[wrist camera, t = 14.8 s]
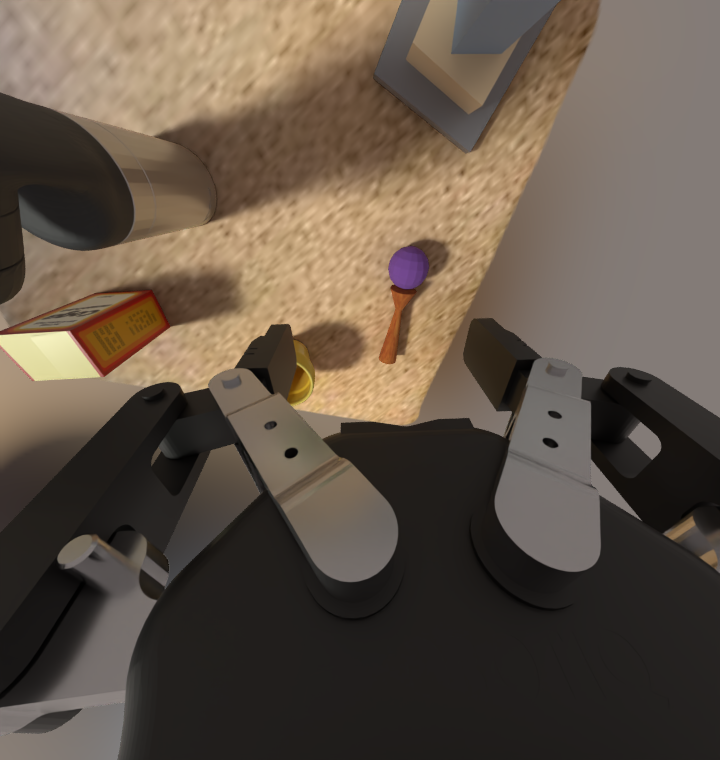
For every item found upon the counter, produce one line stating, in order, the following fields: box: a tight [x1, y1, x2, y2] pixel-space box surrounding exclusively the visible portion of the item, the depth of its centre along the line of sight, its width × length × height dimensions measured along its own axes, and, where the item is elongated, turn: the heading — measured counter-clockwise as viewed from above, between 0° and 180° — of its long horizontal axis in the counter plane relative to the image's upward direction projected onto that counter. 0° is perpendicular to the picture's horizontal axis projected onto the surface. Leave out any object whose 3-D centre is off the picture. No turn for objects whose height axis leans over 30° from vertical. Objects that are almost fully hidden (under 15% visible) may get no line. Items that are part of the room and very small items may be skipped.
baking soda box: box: [0, 290, 170, 381], centre depth 39 cm, size 10×6×16 cm
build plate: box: [373, 0, 556, 153], centre depth 26 cm, size 14×14×6 cm
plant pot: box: [287, 340, 315, 406], centre depth 47 cm, size 10×10×10 cm
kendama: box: [379, 246, 429, 364], centre depth 44 cm, size 6×6×20 cm
